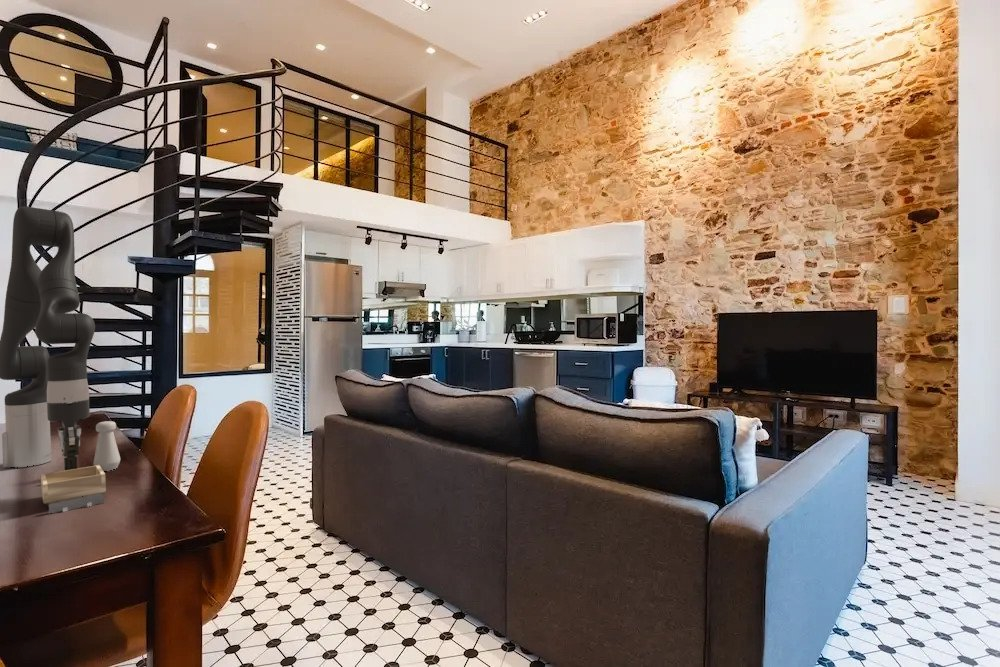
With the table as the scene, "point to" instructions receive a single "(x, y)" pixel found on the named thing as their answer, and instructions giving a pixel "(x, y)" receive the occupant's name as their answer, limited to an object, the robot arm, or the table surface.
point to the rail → (76, 503)
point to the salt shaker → (106, 447)
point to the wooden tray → (72, 483)
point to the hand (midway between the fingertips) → (71, 472)
